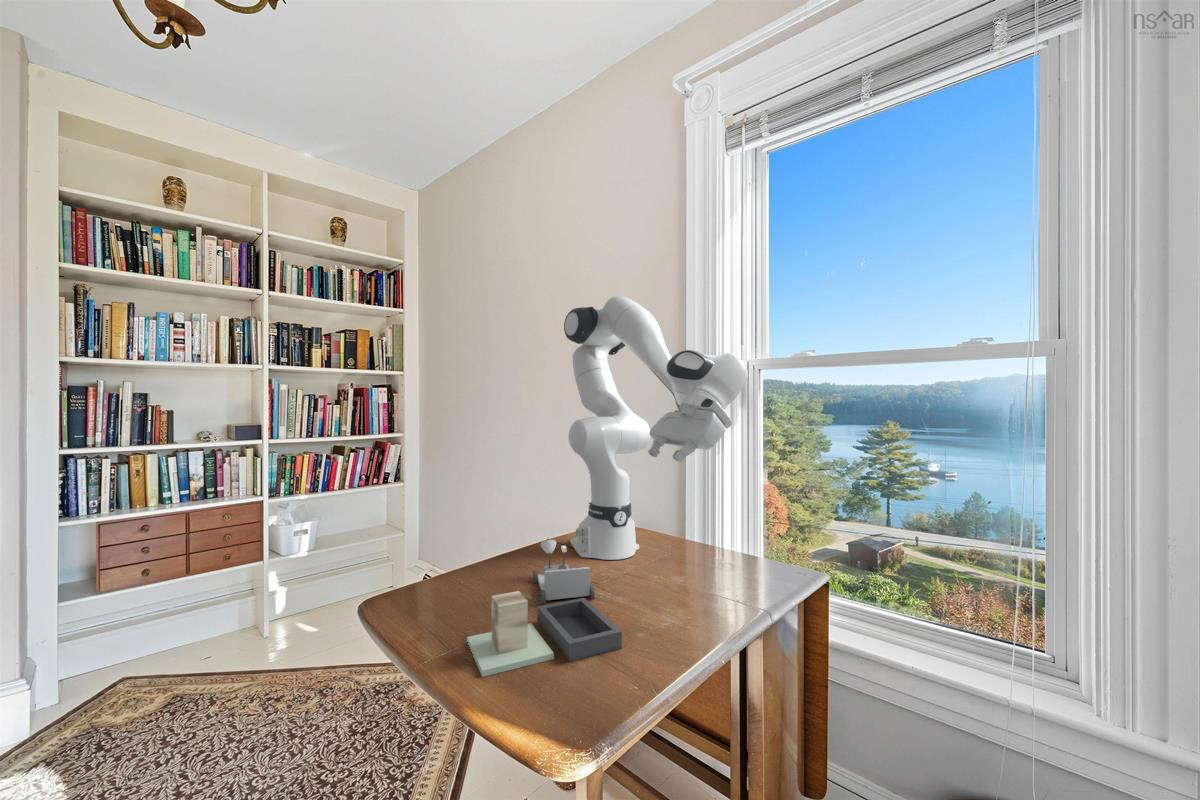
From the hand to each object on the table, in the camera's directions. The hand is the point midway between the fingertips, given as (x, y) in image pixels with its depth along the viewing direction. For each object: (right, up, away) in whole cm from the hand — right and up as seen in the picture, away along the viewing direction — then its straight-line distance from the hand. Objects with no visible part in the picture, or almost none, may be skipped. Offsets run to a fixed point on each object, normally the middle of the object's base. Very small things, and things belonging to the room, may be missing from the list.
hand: (663, 457), depth 104 cm
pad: (-30, -31, -20) cm, 48 cm away
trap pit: (-18, -31, -14) cm, 39 cm away
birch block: (-30, -30, -20) cm, 47 cm away
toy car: (-23, -32, +8) cm, 40 cm away
